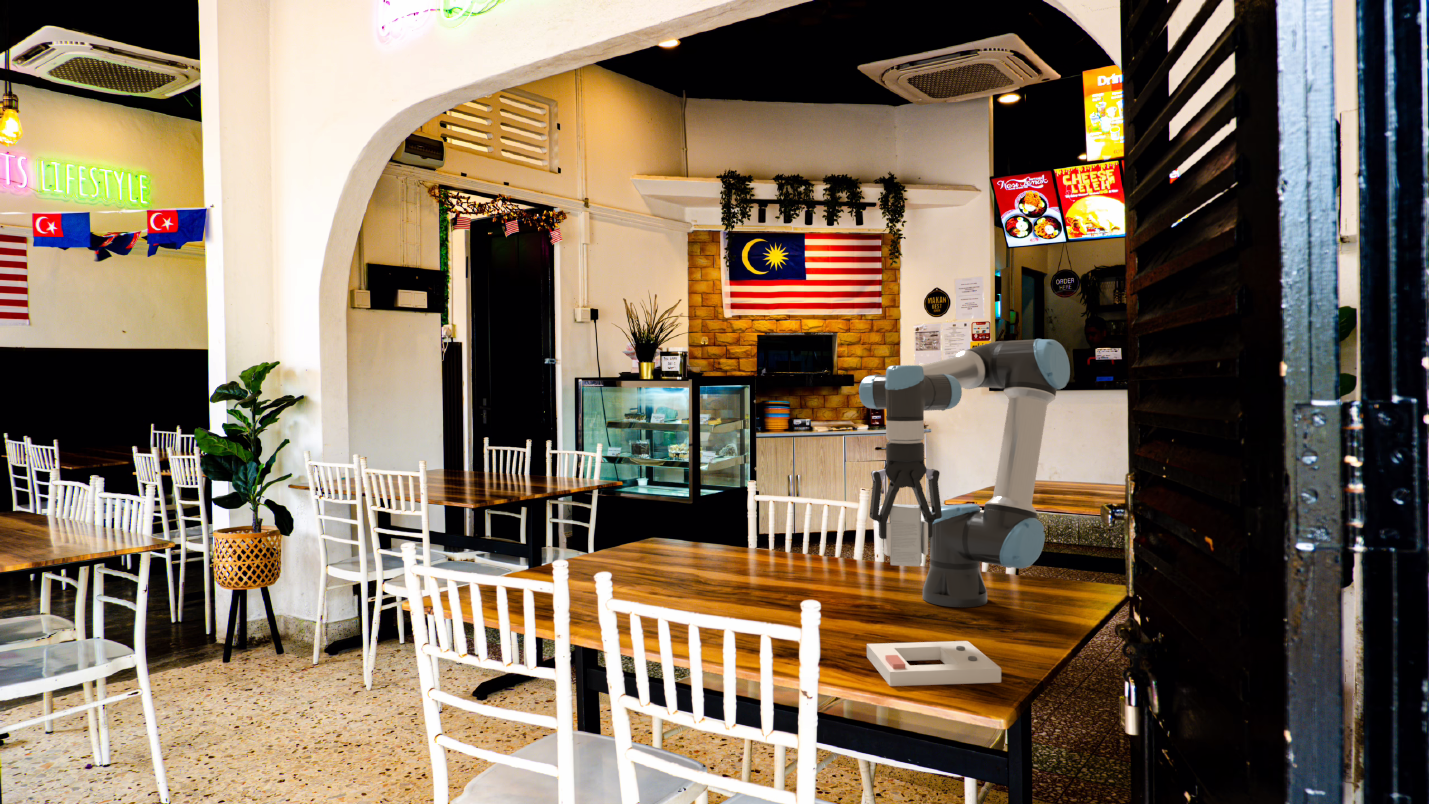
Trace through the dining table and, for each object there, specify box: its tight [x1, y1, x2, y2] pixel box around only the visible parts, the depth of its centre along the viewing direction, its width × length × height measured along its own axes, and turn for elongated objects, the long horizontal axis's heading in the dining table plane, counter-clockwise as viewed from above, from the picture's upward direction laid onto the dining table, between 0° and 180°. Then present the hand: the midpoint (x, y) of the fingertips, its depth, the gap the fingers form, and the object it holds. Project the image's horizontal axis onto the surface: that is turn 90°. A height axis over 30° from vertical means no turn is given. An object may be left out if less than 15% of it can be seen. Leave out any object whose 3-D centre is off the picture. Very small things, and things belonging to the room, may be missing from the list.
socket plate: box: [866, 640, 1002, 687], centre depth 158 cm, size 20×16×3 cm
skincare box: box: [888, 503, 923, 567], centre depth 173 cm, size 6×4×12 cm
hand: (905, 553), depth 173 cm, fingers closed on skincare box, 7 cm apart
